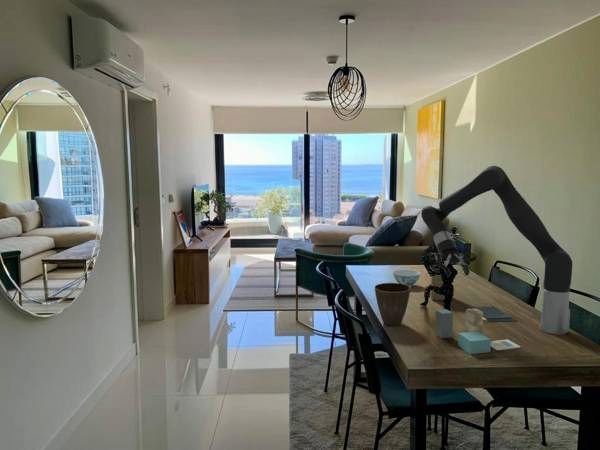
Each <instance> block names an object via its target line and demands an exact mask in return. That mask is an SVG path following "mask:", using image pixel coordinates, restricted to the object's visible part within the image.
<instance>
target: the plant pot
mask: <svg viewBox="0 0 600 450" xmlns="http://www.w3.org/2000/svg"><path fill="white" fill-rule="evenodd" d="M374 293H375V298H376V299H375V300H376V303H377V308H378V310H379V311H378V312H379V314H380V317H381V320H382V323H383V324H384V325H385V326H388V325H390V326H389V327H397V326H398V325H399V326H400V325H401V324H402V322H403V319H404V317H405V314H406V311H407V308H408V304H409V299H410V293H411V287H409V286H407V285H404V284H399V283H398V282H384V283H377V284H376V285H375V286H374Z"/></svg>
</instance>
